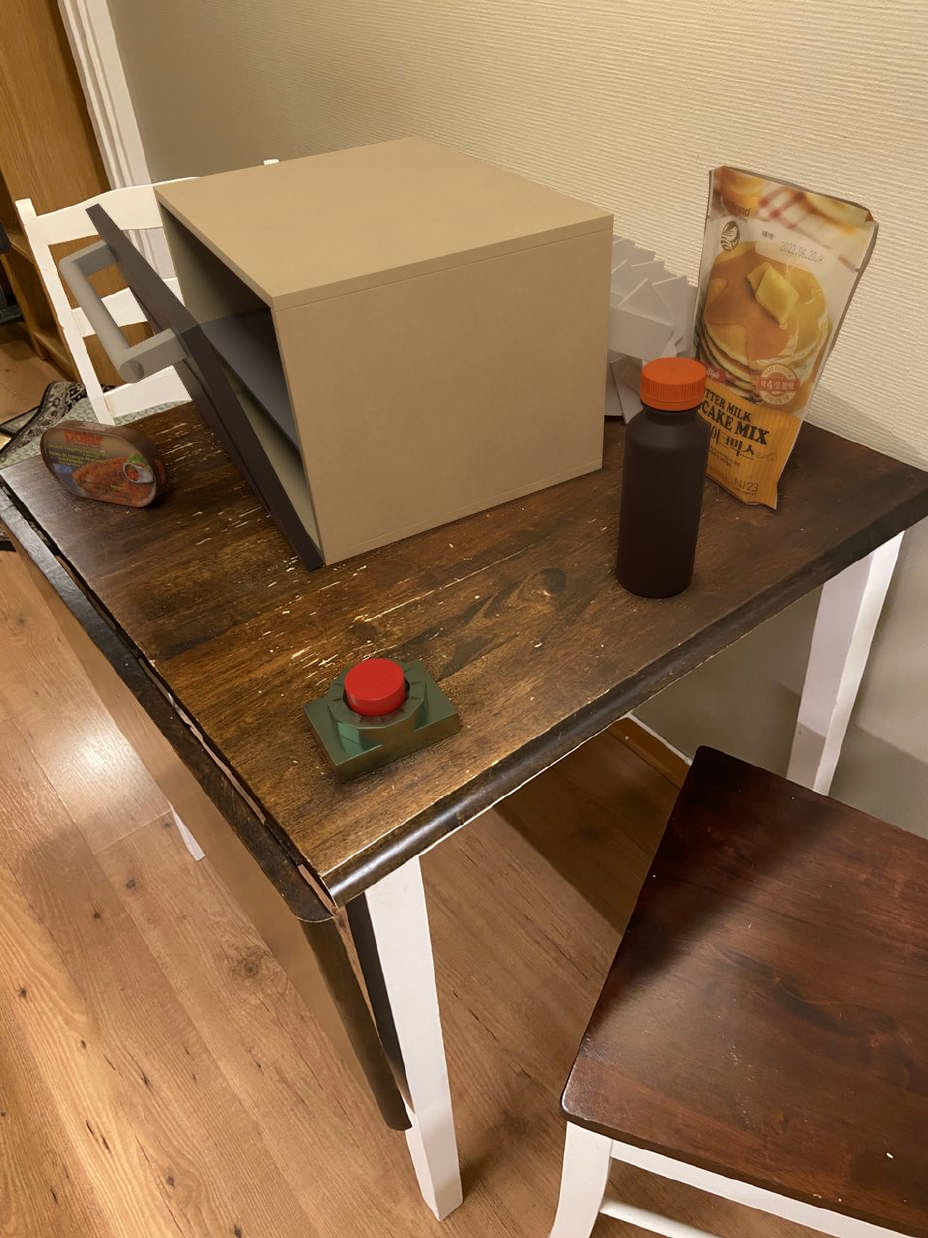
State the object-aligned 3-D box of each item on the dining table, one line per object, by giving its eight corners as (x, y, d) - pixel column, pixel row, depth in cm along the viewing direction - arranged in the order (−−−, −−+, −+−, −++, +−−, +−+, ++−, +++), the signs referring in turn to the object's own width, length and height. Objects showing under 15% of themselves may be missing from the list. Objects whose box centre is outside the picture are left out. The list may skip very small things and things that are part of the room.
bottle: (600, 573, 81) (610, 369, 68) (652, 545, 84) (672, 343, 71) (654, 609, 77) (676, 399, 64) (707, 578, 80) (739, 370, 67)
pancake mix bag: (704, 424, 101) (739, 155, 83) (820, 505, 87) (892, 204, 69) (654, 439, 99) (679, 167, 81) (764, 524, 85) (824, 220, 67)
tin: (53, 492, 98) (24, 424, 93) (73, 477, 100) (45, 410, 95) (164, 514, 93) (140, 443, 88) (181, 498, 96) (159, 428, 90)
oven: (326, 566, 85) (271, 296, 68) (211, 405, 112) (152, 185, 95) (602, 468, 95) (614, 213, 78) (435, 343, 123) (417, 135, 106)
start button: (361, 725, 64) (358, 708, 63) (338, 688, 67) (335, 671, 66) (416, 702, 65) (413, 685, 64) (391, 667, 68) (388, 650, 67)
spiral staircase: (593, 374, 121) (687, 450, 102) (480, 342, 113) (561, 418, 94) (650, 239, 113) (765, 293, 94) (533, 194, 105) (633, 244, 86)
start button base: (341, 786, 64) (332, 750, 62) (305, 723, 69) (296, 687, 67) (461, 732, 67) (458, 696, 65) (419, 675, 72) (415, 639, 70)
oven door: (258, 601, 83) (112, 366, 65) (158, 430, 111) (36, 231, 92) (323, 564, 84) (198, 323, 66) (208, 404, 112) (98, 202, 94)
